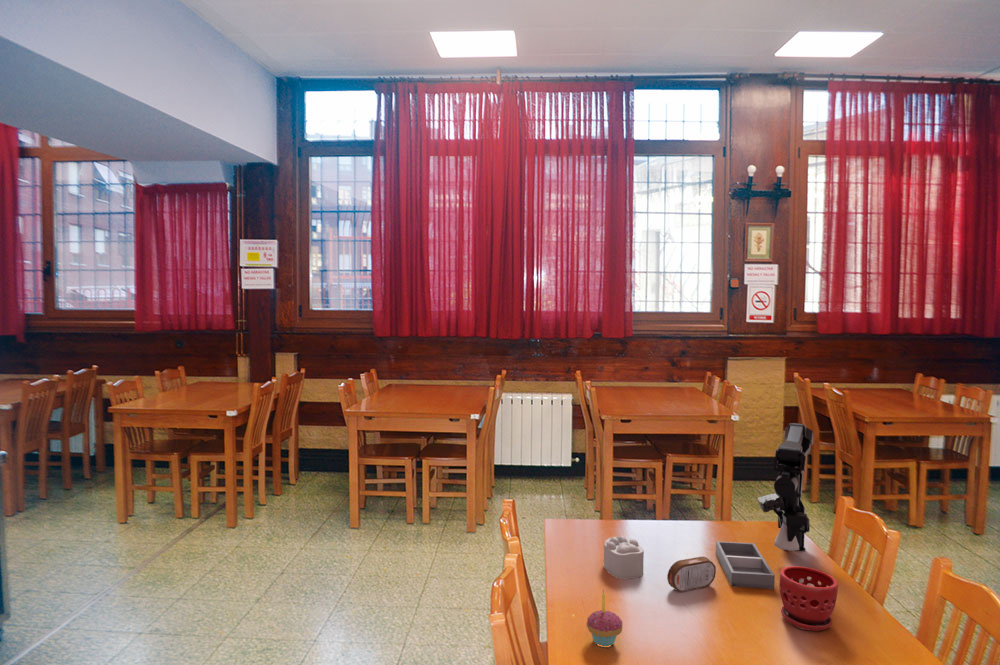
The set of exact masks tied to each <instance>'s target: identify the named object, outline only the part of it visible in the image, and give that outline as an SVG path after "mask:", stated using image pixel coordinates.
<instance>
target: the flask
mask: <svg viewBox="0 0 1000 665" xmlns="http://www.w3.org/2000/svg"><path fill="white" fill-rule="evenodd" d="M783 514H784V513H782V516H783ZM773 545H774V547H776V548H778V549H780V550H784V551H790V552H792V551H793V552H794V551H796V550H799V544H798V541H797V539H796V536H795V537H794V539H793V540H792V542H789V541H788V539H787V533H786V525H785V524H784V523H783V522H782V526H781V528H779V531H778V534H777V536H776V538H775V540H774V544H773Z"/></svg>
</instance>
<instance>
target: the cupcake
mask: <svg viewBox="0 0 1000 665" xmlns="http://www.w3.org/2000/svg"><path fill="white" fill-rule="evenodd" d="M601 602H602V604H601V607H602V609H600V610H596V611H593V612H592V613H591V614H590V615H589V616H588V617H587V621H586V627H587V628H586V629H587V631H588V632H590V634H591V636H592V639H593V643H594V642H595V643H596V644H599V645H602V646H609V645H612V644H615V642H616V638H617V636H619V635H620V634H621V633H622V632H623V620H621V618H620V617H619V615H617V614H616V613H614V612H612V611H610V610H606V594H605V592H604V589H602V593H601ZM595 643H594V644H595ZM596 644H595V645H596Z"/></svg>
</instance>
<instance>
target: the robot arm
mask: <svg viewBox="0 0 1000 665" xmlns="http://www.w3.org/2000/svg"><path fill="white" fill-rule="evenodd" d="M814 438H815V437H814V431H813V430H812V429H810V428H809V427H807V424H804V423H797V422H794V423H793V422H791V423H790V422H789V423H788V426H786V427H785V429H784V442H781V443H779V446H778V448H776V449H775V456H774V464H773V471H776V472H778V476H777V477H776V479H775V482H774V483H773V484H774V485H773V489H774V493H771V494H767V495H763V496H759V497H757V501H758V504H759V507H760V509H761V511H762V512H763V513H769V512H770V511H773V512H774V513H775V514H776V515H777V528H778V529H781V526H782V522H783V523H784V524H785V525H786V533H787V539H788V541H789V542H792V540H793V539H794V537H795V536H796V539H797V541H798V544H799V550H795V551H796V552H798V551H800V552H806V550H807V549H806V547H805V534H807V533H810V532H811V531H810V518H809V515H808V514H807V513H806V511H807V510H806V508H805V505H804V503H803V502H802V494H803V493H802V492H803V481H804V480H803V479H804V472H805V470H806V462H807V455H809V453H810V452H811V449H812V448H811V447H812V445H813V446H814ZM782 513H784V514H783V516H782Z"/></svg>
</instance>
